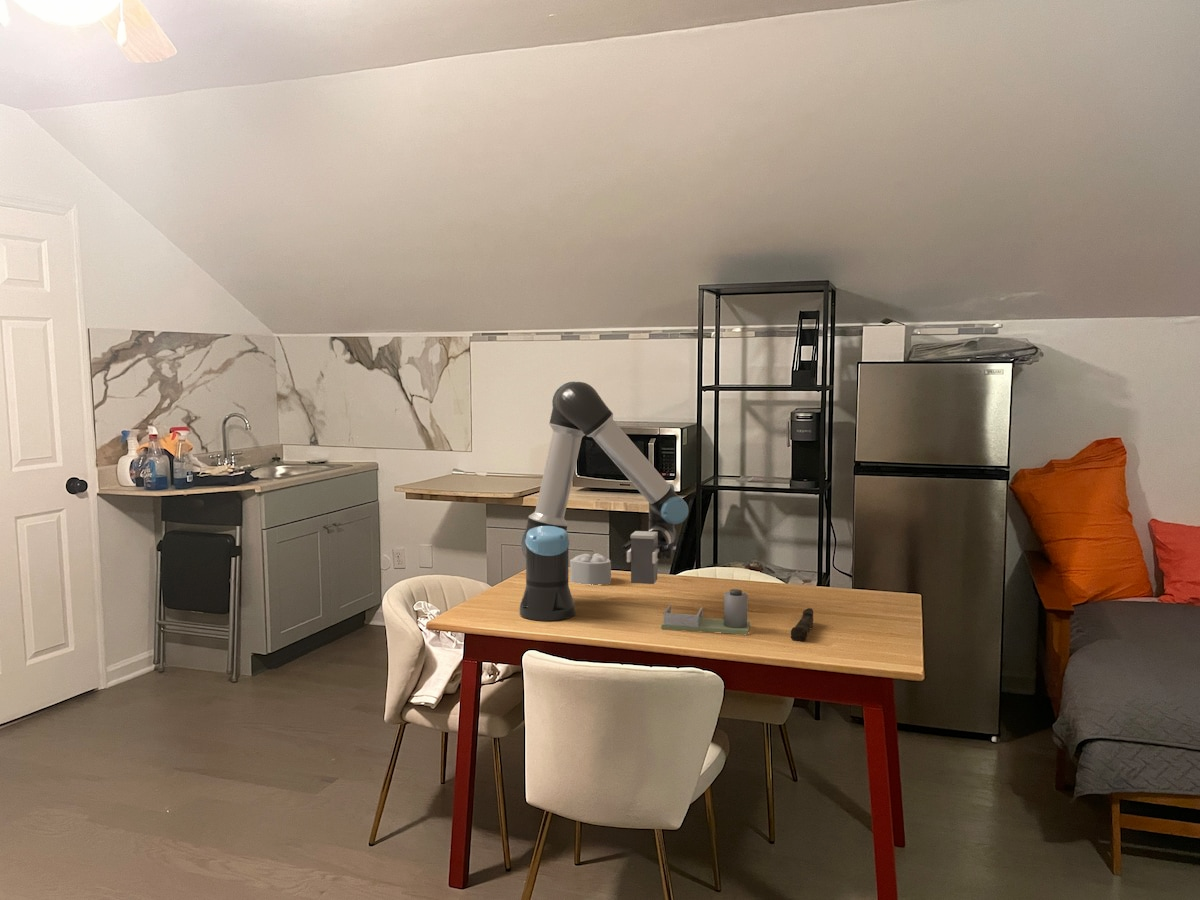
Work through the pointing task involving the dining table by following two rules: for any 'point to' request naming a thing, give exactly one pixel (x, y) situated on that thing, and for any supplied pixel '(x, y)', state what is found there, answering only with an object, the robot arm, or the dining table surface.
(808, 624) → the hand tool
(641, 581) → the grey block
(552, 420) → the robot arm
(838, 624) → the dining table surface
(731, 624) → the desk organizer stand
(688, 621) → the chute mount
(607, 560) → the lumpy-topped squat cylinder
